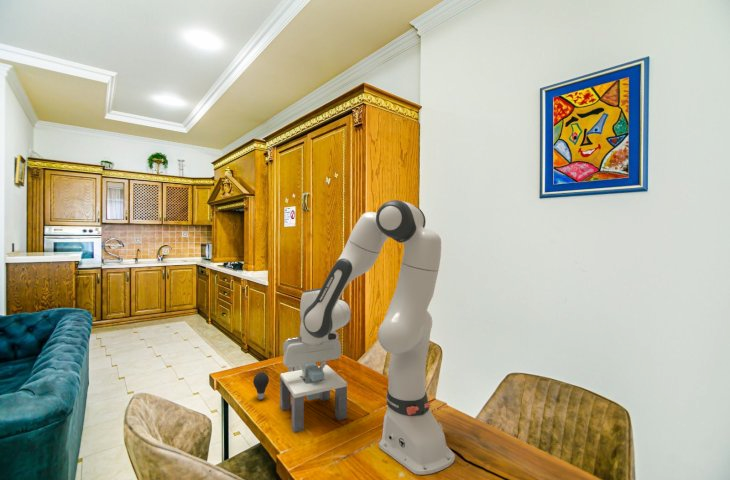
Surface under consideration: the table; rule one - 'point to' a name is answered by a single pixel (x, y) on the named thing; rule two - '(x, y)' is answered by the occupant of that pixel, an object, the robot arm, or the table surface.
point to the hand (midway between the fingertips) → (312, 374)
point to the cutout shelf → (299, 389)
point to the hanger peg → (313, 378)
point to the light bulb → (261, 384)
